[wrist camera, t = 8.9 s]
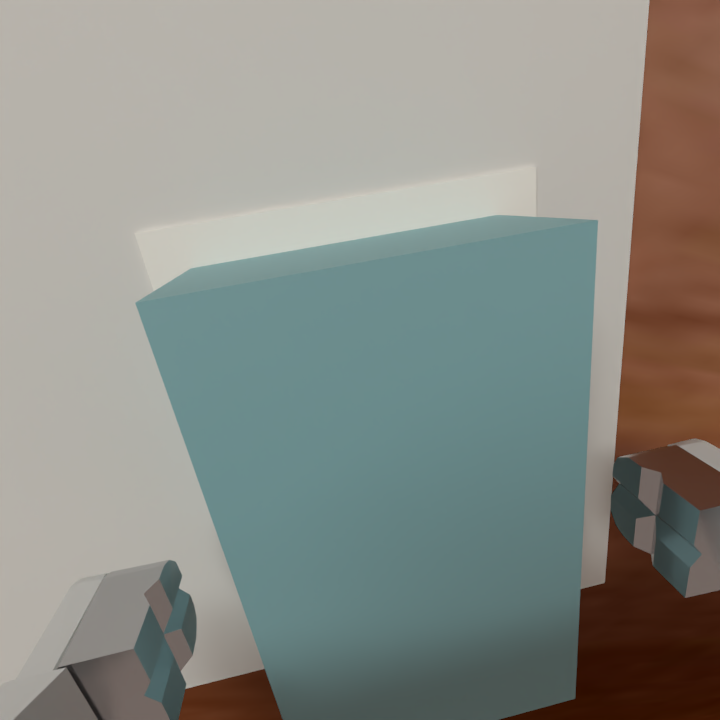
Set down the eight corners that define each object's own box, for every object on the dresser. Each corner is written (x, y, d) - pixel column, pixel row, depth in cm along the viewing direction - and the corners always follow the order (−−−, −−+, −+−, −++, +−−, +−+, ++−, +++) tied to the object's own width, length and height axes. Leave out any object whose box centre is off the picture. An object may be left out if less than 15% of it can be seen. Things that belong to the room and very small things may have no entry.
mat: (25, 707, 12) (10, 736, 11) (-590, -175, 5) (-710, -226, 5) (591, 566, 13) (607, 585, 13) (642, -272, 7) (678, -323, 6)
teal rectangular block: (191, 268, 8) (134, 302, 5) (497, 214, 8) (598, 219, 6) (300, 636, 12) (302, 774, 9) (509, 583, 12) (575, 698, 9)
